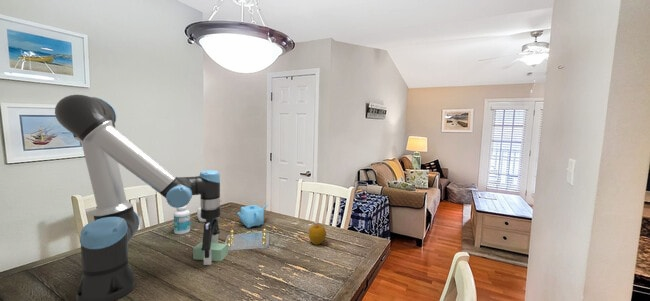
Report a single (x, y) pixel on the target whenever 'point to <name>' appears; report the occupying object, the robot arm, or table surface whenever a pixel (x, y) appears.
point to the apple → (317, 234)
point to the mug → (200, 215)
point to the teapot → (252, 215)
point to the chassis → (247, 240)
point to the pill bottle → (182, 220)
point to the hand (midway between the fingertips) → (211, 256)
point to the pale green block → (217, 251)
